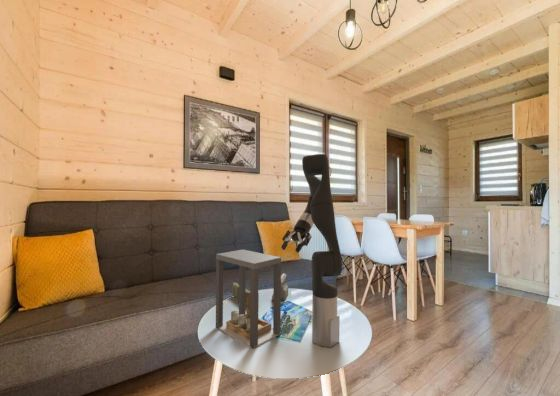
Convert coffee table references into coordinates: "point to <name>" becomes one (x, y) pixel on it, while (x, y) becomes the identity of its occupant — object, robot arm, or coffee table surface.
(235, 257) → the grey stool
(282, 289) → the digital clock
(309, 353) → the coffee table surface
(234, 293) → the handheld radio
